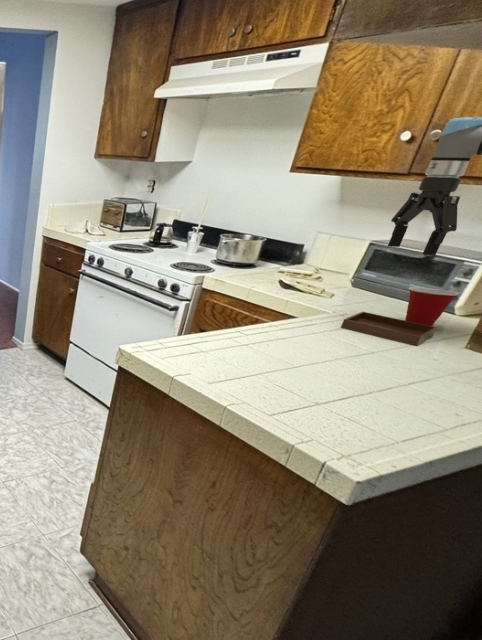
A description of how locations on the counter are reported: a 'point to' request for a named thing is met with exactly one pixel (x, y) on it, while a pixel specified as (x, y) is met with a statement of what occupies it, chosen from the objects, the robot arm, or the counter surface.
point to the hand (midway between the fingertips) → (410, 250)
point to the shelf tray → (389, 328)
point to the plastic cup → (427, 304)
